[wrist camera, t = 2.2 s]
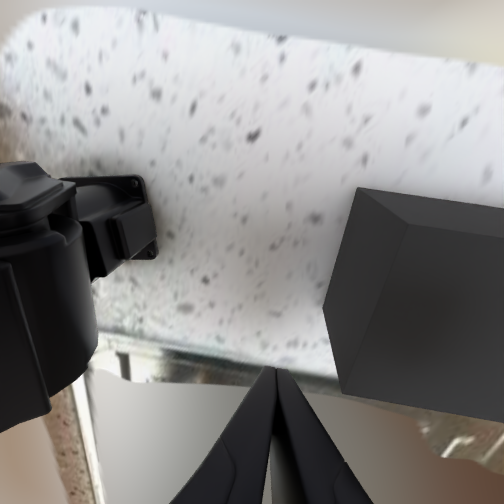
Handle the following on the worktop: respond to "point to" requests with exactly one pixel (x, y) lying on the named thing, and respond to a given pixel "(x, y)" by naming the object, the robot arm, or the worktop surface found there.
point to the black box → (420, 304)
